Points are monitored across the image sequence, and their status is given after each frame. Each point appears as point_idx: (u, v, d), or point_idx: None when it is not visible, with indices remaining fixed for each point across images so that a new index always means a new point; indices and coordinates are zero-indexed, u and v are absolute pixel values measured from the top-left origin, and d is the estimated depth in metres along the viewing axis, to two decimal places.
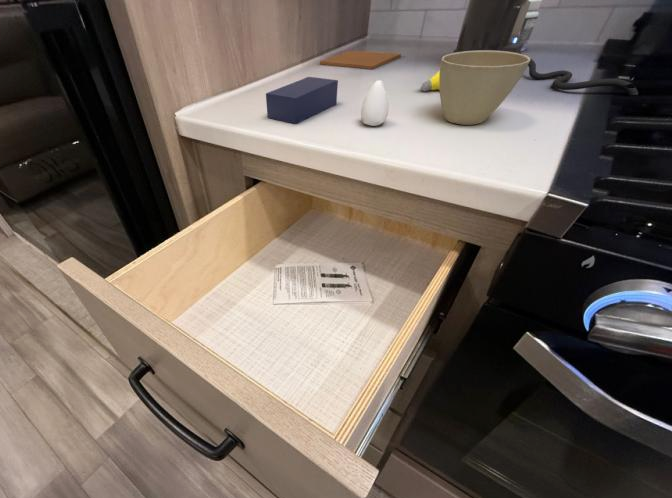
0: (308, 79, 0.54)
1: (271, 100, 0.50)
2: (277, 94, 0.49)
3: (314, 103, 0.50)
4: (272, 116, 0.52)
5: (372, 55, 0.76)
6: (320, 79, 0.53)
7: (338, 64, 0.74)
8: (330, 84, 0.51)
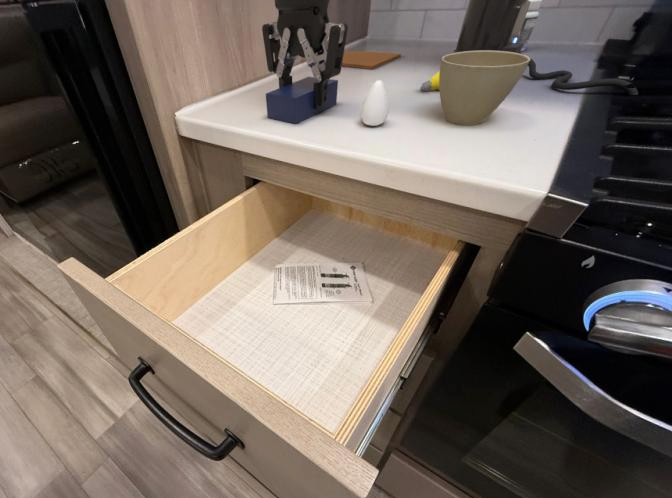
0: (308, 79, 0.54)
1: (271, 100, 0.50)
2: (277, 94, 0.49)
3: None
4: (272, 116, 0.52)
5: (372, 55, 0.76)
6: None
7: None
8: (330, 84, 0.51)
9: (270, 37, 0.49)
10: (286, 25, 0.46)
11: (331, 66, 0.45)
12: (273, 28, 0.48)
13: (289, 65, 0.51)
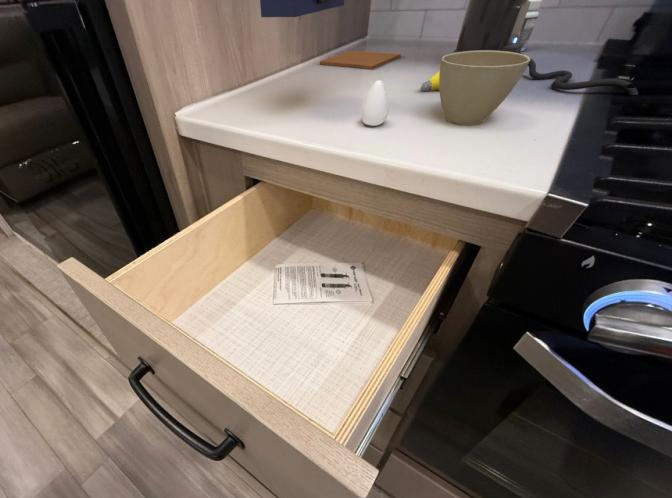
0: None
1: None
2: None
3: None
4: (267, 13, 0.43)
5: (372, 55, 0.76)
6: None
7: (338, 64, 0.74)
8: None
9: None
10: None
11: None
12: None
13: None
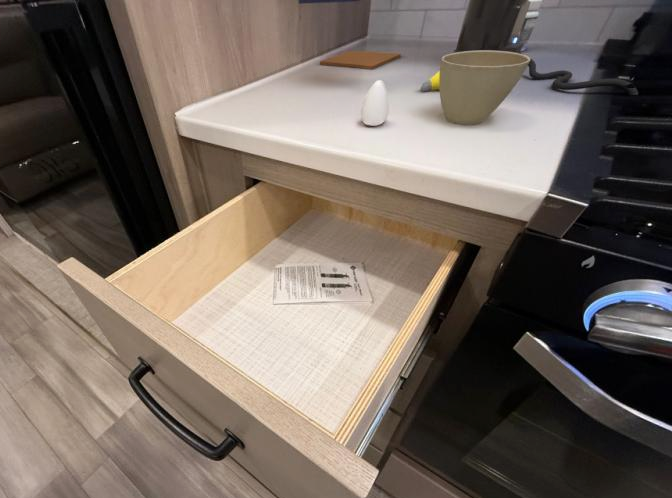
0: None
1: None
2: None
3: None
4: None
5: (372, 55, 0.76)
6: None
7: (338, 64, 0.74)
8: None
9: None
10: None
11: None
12: None
13: None
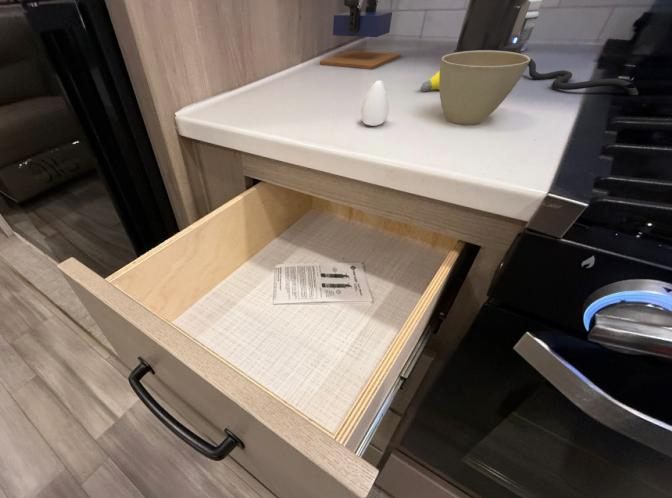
0: (383, 12, 0.69)
1: None
2: None
3: None
4: None
5: (372, 55, 0.76)
6: (382, 13, 0.68)
7: (338, 64, 0.74)
8: (369, 16, 0.67)
9: None
10: None
11: None
12: None
13: None
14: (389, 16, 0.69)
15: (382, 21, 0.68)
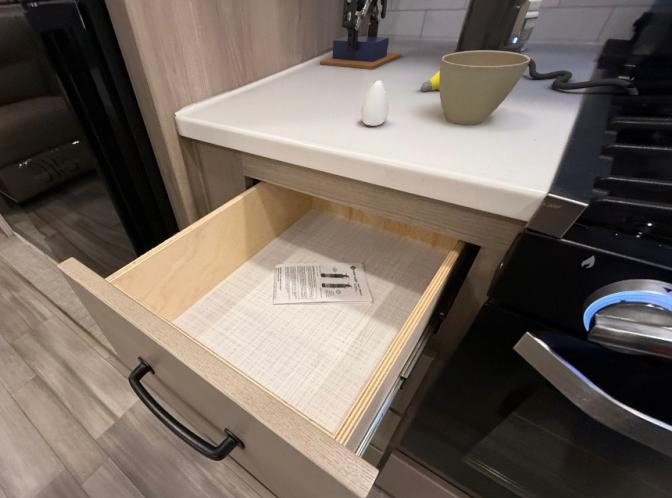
0: (380, 38, 0.72)
1: None
2: (343, 37, 0.76)
3: None
4: None
5: None
6: (379, 39, 0.71)
7: (338, 64, 0.74)
8: (367, 42, 0.70)
9: None
10: None
11: (342, 18, 0.68)
12: None
13: None
14: (386, 41, 0.72)
15: (379, 47, 0.71)
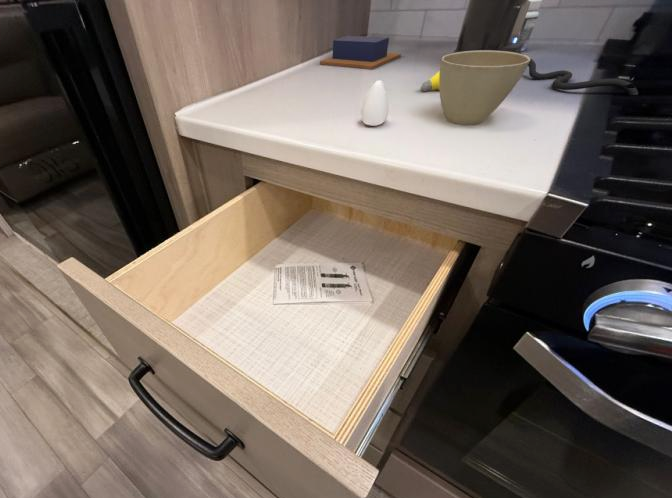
0: (380, 38, 0.72)
1: None
2: (343, 37, 0.76)
3: (349, 50, 0.74)
4: None
5: None
6: (379, 39, 0.71)
7: (338, 64, 0.74)
8: (367, 42, 0.70)
9: None
10: None
11: None
12: None
13: None
14: (386, 41, 0.72)
15: (379, 47, 0.71)
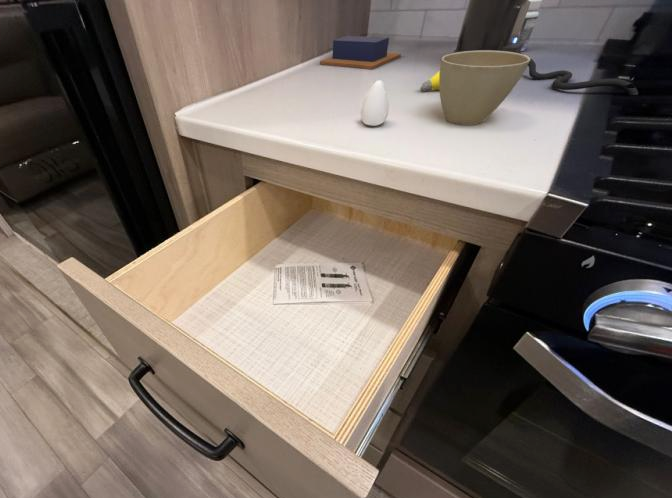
0: (380, 38, 0.72)
1: None
2: (343, 37, 0.76)
3: (349, 50, 0.74)
4: None
5: None
6: (379, 39, 0.71)
7: (338, 64, 0.74)
8: (367, 42, 0.70)
9: None
10: None
11: None
12: None
13: None
14: (386, 41, 0.72)
15: (379, 47, 0.71)
